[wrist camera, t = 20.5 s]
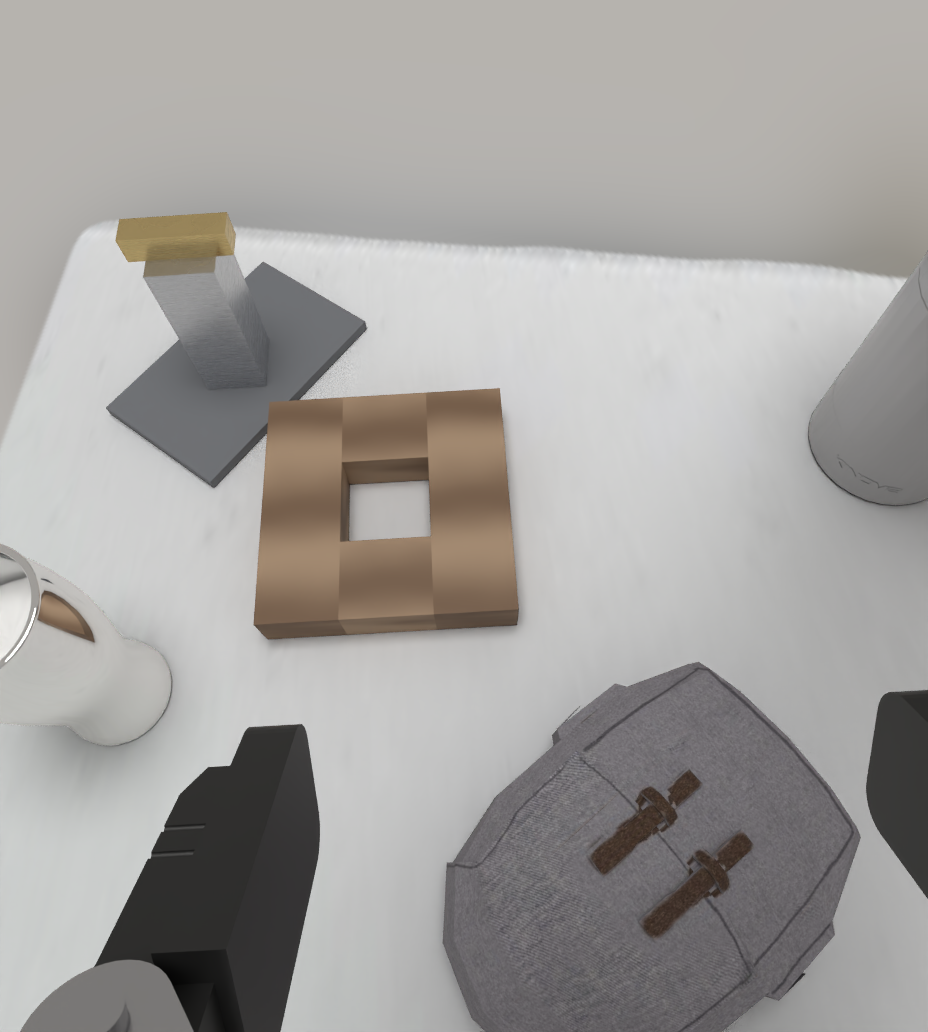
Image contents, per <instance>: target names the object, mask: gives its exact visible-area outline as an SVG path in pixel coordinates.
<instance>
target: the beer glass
mask: <svg viewBox="0 0 928 1032" xmlns="http://www.w3.org/2000/svg"><path fill="white" fill-rule="evenodd" d="M171 687H172V681H171V673H170V670H169V667H168V665H167V663H166V661H165V659H164V658H163V656H162V655H161V654H160V653H159V652H158V651H157V650H156V649H154V648H153V647H151V646H149V645H147V644H145V643H142V642H139V641H135V640H130V639H125V638H123V637H122V635H121V634H120V633H119V632H118V630H117V629H116V628H115V626H114V625H113V624H112V622H111V621H110V620H109V618H108V617H107V616H106V615H105V613H104V612H103V611H102V610H101V608H100V607H99V606H98V605H97V604H96V603H95V602H94V601H93V600H92V599H91V598H90V597H89V596H88V595H87V594H86V593H85V592H83V591H82V590H81V589H79V588H78V587H77V586H76V585H74V584H73V583H72V582H70V581H69V580H67V579H66V578H64V577H62V576H61V575H59V574H58V573H56V572H54V571H53V570H51V569H49V568H47V567H45V566H43V565H41V564H40V563H38V562H36V561H34V560H32V559H30V558H27V557H25V556H23V555H21V554H20V553H19V552H17V551H16V550H14V549H12V548H10V547H8V546H5V545H3V544H0V723H1V724H10V725H22V726H68V727H69V728H71V729H72V730H73V731H74V732H75V733H76V734H78V735H79V736H80V737H82V738H83V739H85V740H87V741H89V742H91V743H94V744H97V745H103V746H113V745H120V744H124V743H127V742H130V741H132V740H134V739H136V738H138V737H140V736H142V735H143V734H144V733H146V732H147V731H148V730H149V729H151V728H152V727H153V726H154V725H155V723H156V722H157V721H158V720H159V719H160V717H161V716H162V714H163V712H164V711H165V709H166V706H167V704H168V701H169V698H170V694H171Z"/></svg>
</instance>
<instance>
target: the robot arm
mask: <svg viewBox="0 0 928 1032" xmlns="http://www.w3.org/2000/svg"><path fill="white" fill-rule="evenodd" d="M809 440H810V445H811V449H812V452H813V454H814V456H815V458H816V460H817V462H818V464H819V465H820V466H821V468H822V469H823V470H824V472H825V473H826V474H827V475H828V476H829V477H830V478H831V479H832V480H833V481H834V482H835V483H836V484H838V485H839V486H841V487H842V488H844V489H845V490H847V491H848V492H850V493H851V494H854V495H856V496H858V497H860V498H863V499H865V500H868V501H872V502H876V503H880V504H887V505H905V504H913V503H916V502H919V501H922V500H925V499H927V498H928V251H927V252H926V254H925V256H924V257H923V259H922V260H921V261H920V263H919V264H918V266H917V267H916V268H915V270H914V271H913V273H912V274H911V275H910V277H909V278H908V280H907V281H906V282H905V284H904V285H903V287H902V288H901V289H900V291H899V292H898V294H897V295H896V296H895V298H894V299H893V301H892V302H891V303H890V305H889V306H888V308H887V309H886V310H885V312H884V313H883V315H882V316H881V317H880V319H879V320H878V322H877V323H876V324H875V326H874V327H873V329H872V330H871V331H870V333H869V334H868V336H867V337H866V338H865V340H864V341H863V343H862V344H861V345H860V347H859V348H858V350H857V351H856V352H855V354H854V355H853V357H852V358H851V359H850V361H849V362H848V364H847V365H846V366H845V368H844V369H843V370H842V372H841V373H840V374H839V376H838V377H837V379H836V380H835V381H834V383H833V384H832V386H831V387H830V389H829V390H828V391H827V393H826V394H825V396H824V397H823V398H822V400H821V401H820V403H819V404H818V406H817V407H816V409H815V410H814V412H813V414H812V417H811V420H810V423H809ZM866 793H867V801H868V806H869V810H870V813H871V816H872V819H873V821H874V823H875V825H876V827H877V829H878V831H879V832H880V834H881V835H882V837H883V838H884V839H885V841H886V842H887V843H888V845H889V846H890V848H891V849H892V850H893V852H894V853H895V854H896V856H897V857H898V858H899V860H900V861H901V863H902V864H903V865H904V867H905V868H906V869H907V871H908V872H909V874H910V875H911V876H912V878H913V879H914V880H915V882H916V883H917V885H918V886H919V887H920V889H921V890H922V891H923V893H924V894H925V896H926V897H927V898H928V690H921V691H904V692H888V693H886V694H885V695H884V696H883V697H882V698H881V700H880V702H879V706H878V711H877V717H876V724H875V730H874V737H873V743H872V750H871V756H870V763H869V769H868V776H867V783H866ZM319 842H320V821H319V811H318V804H317V798H316V791H315V784H314V778H313V771H312V765H311V758H310V751H309V745H308V738H307V734H306V730H305V728H304V726H303V725H302V724H298V725H281V726H263V727H249V728H247V730H246V731H245V733H244V735H243V737H242V740H241V742H240V744H239V747H238V749H237V751H236V754H235V756H234V758H233V761H232V763H231V766H221V767H208V768H207V769H206V770H205V771H204V772H203V773H202V774H201V775H200V776H199V777H198V778H196V779H195V780H194V781H193V782H192V783H191V784H190V785H189V786H188V787H187V788H186V789H185V790H184V791H183V792H182V793H181V794H180V795H179V797H178V799H177V801H176V803H175V805H174V807H173V809H172V811H171V813H170V815H169V817H168V819H167V821H166V823H165V829H164V832H161V834H160V836H159V838H158V840H157V842H156V844H155V846H154V848H153V850H152V852H151V853H152V855H151V859H148V860H147V862H146V864H145V866H144V868H143V870H142V872H141V874H140V876H139V878H138V880H137V882H136V884H135V886H134V888H133V890H132V892H131V894H130V896H129V898H128V900H127V902H126V904H125V906H124V908H123V910H122V912H121V915H120V917H119V919H118V921H117V923H116V925H115V927H114V929H113V931H112V933H111V935H110V937H109V939H108V941H107V943H106V945H105V947H104V949H103V951H102V953H101V955H100V957H99V959H98V961H97V963H96V965H95V966H94V967H93V968H91V969H89V970H87V971H85V972H83V973H81V974H78V975H77V976H75V977H74V978H72V979H70V980H69V981H67V982H66V983H64V984H63V985H62V986H60V987H59V988H58V989H56V990H55V991H54V992H52V993H51V994H50V995H49V996H48V997H47V998H46V999H45V1000H44V1001H43V1002H42V1003H41V1004H40V1005H39V1006H38V1007H37V1009H36V1010H35V1011H34V1012H33V1013H32V1014H31V1016H30V1017H29V1019H28V1020H27V1022H26V1023H25V1024H24V1026H23V1027H22V1029H21V1031H20V1032H280V1031H281V1026H282V1022H283V1017H284V1013H285V1008H286V1003H287V999H288V994H289V990H290V985H291V980H292V976H293V971H294V967H295V962H296V957H297V953H298V948H299V944H300V939H301V935H302V930H303V925H304V921H305V916H306V912H307V907H308V902H309V898H310V893H311V889H312V884H313V879H314V875H315V870H316V866H317V860H318V854H319Z"/></svg>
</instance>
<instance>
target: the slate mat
mask: <svg viewBox="0 0 928 1032" xmlns="http://www.w3.org/2000/svg"><path fill="white" fill-rule="evenodd" d="M245 282H246V284H247V286H248V289H249V291H250V294H251V296H252V299H253V301H254V303H255V306H256V308H257V311H258V313H259V315H260V318H261V320H262V323H263V325H264V328H265V330H266V332H267V335H268V337H269V340H270V342H269V358H268V374H267V386H265V387H250V388H235V389H220V390H209V389H208V387H207V386H206V384H205V382H204V381H203V379H202V377H201V375H200V374H199V372H198V370H197V369H196V367H195V365H194V364H193V362H192V360H191V358H190V357H189V355H188V353H187V352H186V350H185V348H184V346H183V345H182V343H181V341H180V340H178V341H177V342H176V343H175V344H174V345H173V346H172V347H171V348H170V349H169V350H168V351H166V352H165V353H164V354H163V355H162V356H161V357H160V358H159V359H158V360H157V361H156V362H155V363H154V364H152V365H151V366H150V367H149V368H148V369H147V370H146V371H145V372H144V373H143V374H142V375H141V376H140V377H138V378H137V379H136V380H135V381H134V382H133V383H132V384H131V385H130V386H129V387H128V388H127V389H126V390H124V391H123V392H122V393H121V394H120V395H119V396H118V397H117V398H116V399H115V400H114V401H113V402H112V403H110V404H109V405H108V406H107V407H106V409H107V410H108V411H109V412H110V413H111V414H112V415H113V416H114V417H116V418H117V419H119V420H120V421H121V422H123V423H124V424H126V425H127V426H128V427H130V428H131V429H133V430H134V431H135V432H137V433H138V434H139V435H141V436H142V437H144V438H145V439H146V440H148V441H149V442H151V443H152V444H153V445H155V446H156V447H158V448H159V449H160V450H162V451H163V452H165V453H166V454H167V455H169V456H170V457H172V458H173V459H174V460H176V461H177V462H179V463H180V464H181V465H183V466H184V467H186V468H187V469H188V470H190V471H191V472H193V473H194V474H195V475H197V476H198V477H200V478H201V479H202V480H204V481H205V482H207V483H208V484H209V485H211V486H212V487H215V486H216V485H217V484H218V483H219V482H220V481H221V480H222V479H223V478H224V477H225V476H226V475H227V474H228V473H229V472H230V471H231V470H232V469H233V468H234V466H235V465H236V464H237V463H238V462H239V461H240V460H241V459H242V458H243V457H244V456H245V455H246V454H247V453H248V452H249V451H250V450H251V449H252V448H253V447H254V446H255V445H256V444H257V443H258V441H259V440H260V439H261V438H262V437H263V436H264V435H265V434H266V433H267V428H268V414H269V402H277V401H294V400H299V399H300V398H301V397H302V396H303V395H304V394H305V393H306V391H307V390H308V389H309V388H310V387H311V386H312V385H313V384H314V383H315V382H316V381H317V380H318V379H319V378H320V377H321V376H322V375H323V374H324V373H325V372H326V371H327V370H328V369H329V368H330V366H331V365H332V364H333V363H334V362H335V361H336V360H337V359H338V358H339V357H340V356H341V355H342V354H343V353H344V352H345V351H346V350H347V349H348V348H349V347H350V346H351V345H352V344H353V343H354V341H355V340H356V339H357V338H358V337H359V336H360V335H361V334H362V333H363V332H364V331H365V330H366V329H367V328H366V323H365V321H363V320H362V319H360V318H358V317H357V316H355V315H353V314H351V313H350V312H348V311H346V310H345V309H343V308H341V307H340V306H338V305H336V304H334V303H333V302H331V301H329V300H328V299H326V298H324V297H323V296H321V295H319V294H317V293H316V292H314V291H312V290H311V289H309V288H307V287H305V286H304V285H302V284H300V283H299V282H297V281H295V280H294V279H292V278H290V277H288V276H287V275H285V274H283V273H282V272H280V271H278V270H277V269H275V268H273V267H271V266H270V265H268V264H266V263H265V262H262V263H261V264H260V265H259V266H258V267H257V268H256V269H255V270H254V271H253V272H251V273H250V274H249V275H248V276H247V277H246V278H245Z"/></svg>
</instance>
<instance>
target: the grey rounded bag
mask: <svg viewBox="0 0 928 1032" xmlns="http://www.w3.org/2000/svg"><path fill="white" fill-rule="evenodd" d="M577 709H578V708H577ZM577 709H576V710H577ZM576 710H575V711H576ZM575 711H574V712H575ZM574 712H573V713H574ZM573 713H572V714H573ZM572 714H571V715H572ZM571 715H570V716H571ZM570 716H569V717H570ZM569 717H568V718H569ZM567 720H568V719H567ZM567 720H566V721H567ZM566 721H565V722H564V723H563V724H562V725H561V726H560V727H559V728H558V729H557V730H556V731H555V732H554V734H553V735H552V737H553V744H554V746H553V747H552V748H551V749H550V750H548V751H547V752H546V753H545V754H544V755H543V756H542V757H541V758H539V759H538V760H537V761H536V762H535V763H534V764H533V765H531V766H530V767H529V768H528V769H527V770H526V771H525V772H523V773H522V774H521V775H520V776H519V777H518V778H517V779H516V780H514V781H513V782H512V783H511V784H510V785H509V786H508V787H506V788H505V789H504V790H503V791H502V792H501V793H500V794H499V795H497V796H496V797H495V799H494V800H493V802H492V803H491V805H490V806H489V808H488V809H487V811H486V812H485V814H484V815H483V817H482V819H481V820H480V822H479V823H478V825H477V826H476V828H475V829H474V831H473V832H472V834H471V835H470V837H469V839H468V840H467V842H466V843H465V845H464V846H463V848H462V849H461V851H460V852H459V854H458V855H457V857H456V859H455V860H454V862H452V863H447V871H446V891H445V910H444V930H443V945H444V947H445V950H446V953H447V955H448V958H449V960H450V963H451V965H452V968H453V971H454V973H455V976H456V978H457V981H458V984H459V986H460V989H461V991H462V994H463V997H464V999H465V1002H466V1004H467V1007H468V1010H469V1012H470V1015H471V1017H472V1019H473V1020H474V1021H476V1022H477V1023H478V1024H479V1025H480V1026H481V1027H482V1028H483V1029H484V1030H485V1031H486V1032H722V1031H723V1030H724V1029H725V1028H727V1027H728V1026H729V1025H730V1024H731V1023H733V1022H734V1021H735V1020H736V1019H738V1018H739V1017H740V1016H741V1015H742V1014H744V1013H745V1012H746V1011H747V1010H748V1009H750V1008H751V1007H752V1006H753V1005H755V1004H756V1003H757V1002H758V1001H759V1000H761V999H762V998H763V997H764V996H766V997H769V998H772V999H776V1000H780V999H781V998H782V997H783V996H784V995H785V994H786V993H787V992H788V991H789V990H790V989H791V988H792V987H793V986H794V985H795V984H796V983H797V982H798V981H799V980H800V979H801V978H802V977H803V976H804V975H805V974H804V973H803V972H804V970H805V969H806V968H807V967H808V966H809V965H810V963H811V962H812V961H813V960H814V959H815V957H816V956H817V955H818V954H819V953H820V951H821V950H822V949H823V948H824V947H825V946H826V944H827V943H828V942H829V941H830V940H831V938H832V937H833V936H834V935H835V933H834V927H833V921H832V920H833V917H834V914H835V911H836V908H837V906H838V903H839V900H840V897H841V894H842V891H843V888H844V885H845V882H846V879H847V876H848V873H849V870H850V867H851V864H852V862H853V859H854V856H855V853H856V850H857V847H858V844H859V841H860V838H861V837H860V834H859V832H858V829H857V827H856V826H855V824H854V822H853V821H852V819H851V818H850V816H849V815H848V813H847V812H846V810H845V809H844V807H843V806H842V804H841V802H840V801H839V799H838V798H837V796H836V795H835V793H834V792H833V790H832V789H831V788H830V787H829V785H828V784H827V783H826V782H825V781H824V779H823V778H822V777H821V776H820V775H819V773H818V772H817V771H816V770H815V769H814V767H813V766H812V765H811V764H810V763H809V762H808V760H807V759H806V758H805V757H804V756H803V754H802V753H801V752H800V751H799V750H798V748H797V747H796V746H795V745H794V744H793V743H792V741H791V740H790V739H789V738H788V737H787V736H786V735H785V734H784V733H783V732H782V731H781V730H780V729H779V728H778V727H777V726H776V725H775V724H774V723H773V722H772V721H771V720H770V719H768V718H767V717H766V716H765V715H764V714H763V713H762V712H761V711H760V710H759V709H758V708H757V707H756V706H755V705H754V704H753V703H752V702H751V701H750V700H749V699H748V698H746V697H745V696H744V695H743V694H742V693H741V692H740V691H739V690H737V689H736V688H735V687H733V686H732V685H731V684H729V683H728V682H727V681H725V680H724V679H722V678H721V677H720V676H718V675H717V674H716V673H714V672H713V671H712V670H710V669H709V668H707V667H706V666H704V665H702V664H701V663H699V662H696V663H692V664H688V665H685V666H682V667H680V668H677V669H674V670H671V671H669V672H666V673H663V674H661V675H658V676H655V677H653V678H650V679H647V680H644V681H642V682H639V683H636V684H634V685H631V686H628V687H625V686H622V685H618V684H614V685H613V686H612V687H610V688H609V689H608V690H607V691H605V692H604V693H603V694H601V695H600V696H599V697H598V698H596V699H595V700H594V701H592V702H591V703H590V704H589V705H587V706H586V707H585V708H583V709H582V710H581V711H580V712H578V713H577V714H576V715H574V716H573V717H572V718H571V719H569V720H568V721H567V722H566Z"/></svg>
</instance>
